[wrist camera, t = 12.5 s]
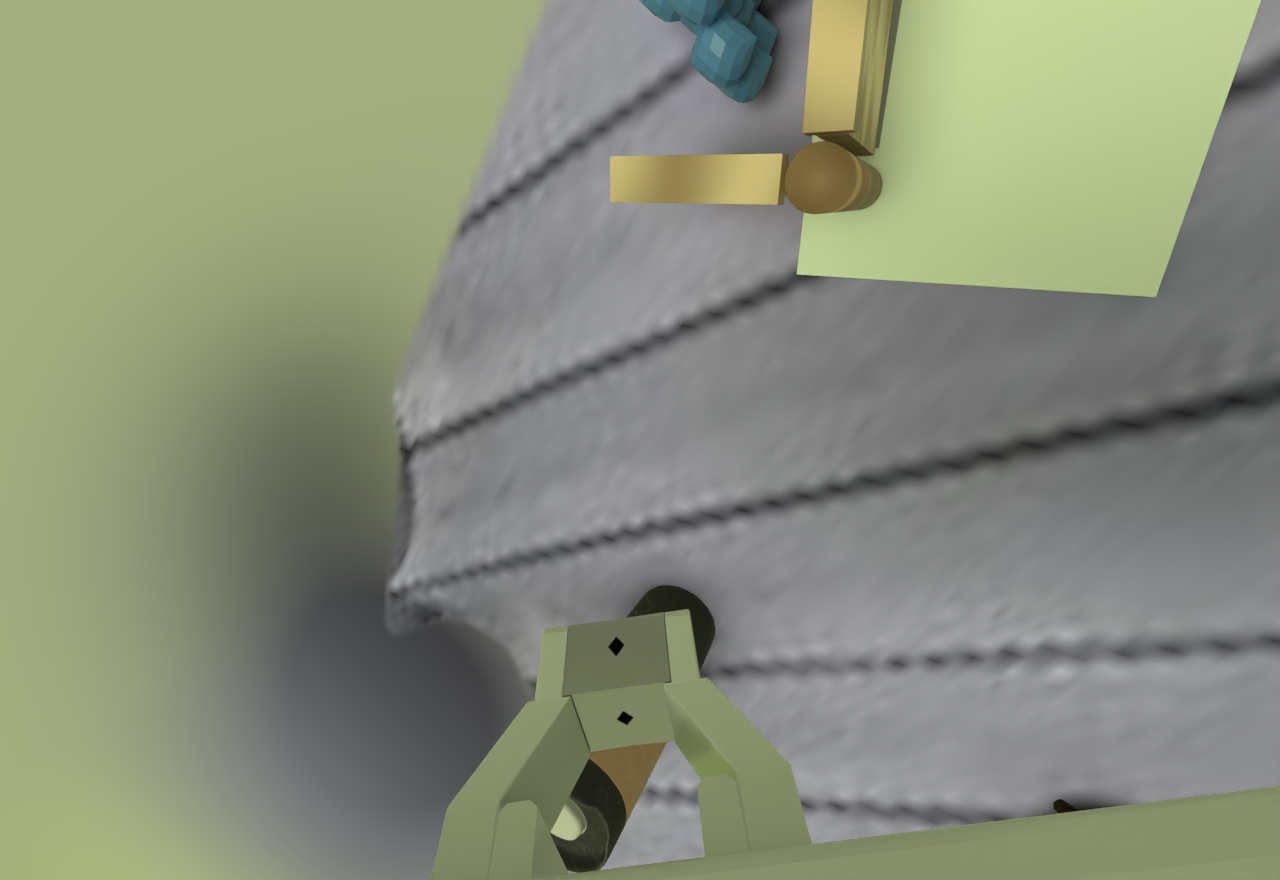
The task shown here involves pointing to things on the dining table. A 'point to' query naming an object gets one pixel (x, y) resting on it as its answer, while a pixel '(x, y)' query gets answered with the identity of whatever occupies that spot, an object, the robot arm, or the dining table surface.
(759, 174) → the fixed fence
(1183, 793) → the dining table surface
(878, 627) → the dining table surface
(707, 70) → the grapes
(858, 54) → the gate panel
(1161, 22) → the board
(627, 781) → the travel mug
